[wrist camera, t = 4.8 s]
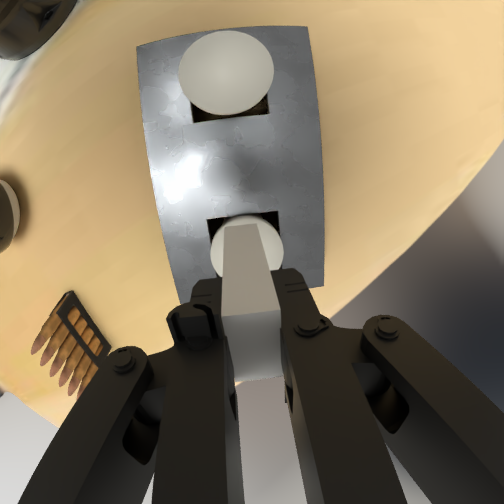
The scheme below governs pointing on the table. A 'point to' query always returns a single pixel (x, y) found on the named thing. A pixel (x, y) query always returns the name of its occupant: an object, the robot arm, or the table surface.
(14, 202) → the pump dispenser
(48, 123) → the table surface
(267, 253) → the knob far
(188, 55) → the knob near
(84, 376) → the ammunition clip
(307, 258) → the housing
